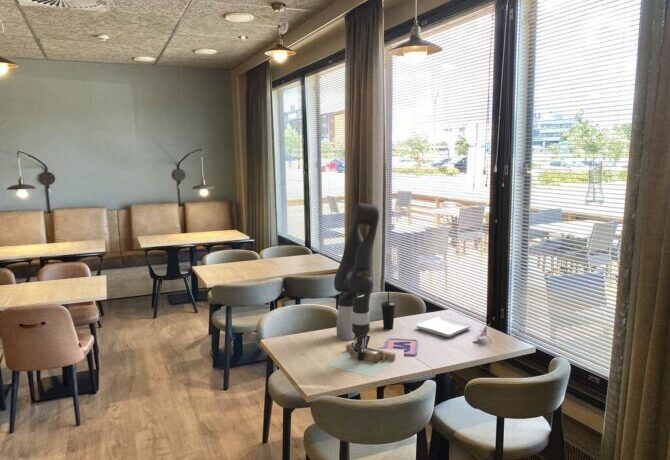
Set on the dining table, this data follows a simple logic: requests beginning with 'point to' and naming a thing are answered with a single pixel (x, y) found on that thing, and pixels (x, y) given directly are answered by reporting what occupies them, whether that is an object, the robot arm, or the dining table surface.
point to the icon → (402, 345)
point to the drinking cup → (388, 313)
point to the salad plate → (443, 326)
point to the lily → (484, 332)
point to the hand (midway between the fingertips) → (360, 360)
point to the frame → (369, 355)
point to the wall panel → (361, 363)
